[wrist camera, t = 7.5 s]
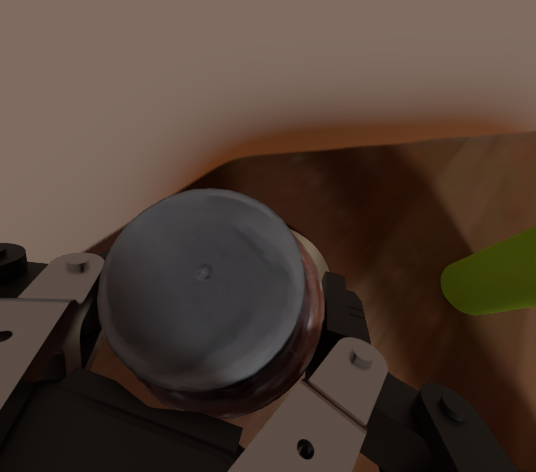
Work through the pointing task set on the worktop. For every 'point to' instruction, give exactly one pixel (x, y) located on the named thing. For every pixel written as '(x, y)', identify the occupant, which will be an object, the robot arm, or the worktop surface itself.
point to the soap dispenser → (494, 277)
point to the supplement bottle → (211, 303)
